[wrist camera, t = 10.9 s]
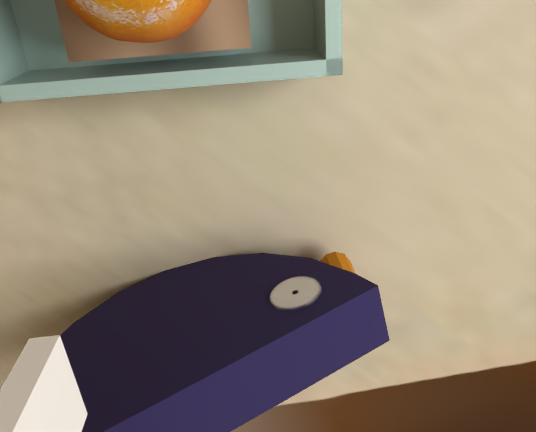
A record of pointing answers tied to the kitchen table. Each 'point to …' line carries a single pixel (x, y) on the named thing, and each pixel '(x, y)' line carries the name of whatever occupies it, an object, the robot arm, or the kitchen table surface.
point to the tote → (172, 65)
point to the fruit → (139, 17)
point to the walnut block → (193, 40)
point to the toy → (220, 341)
